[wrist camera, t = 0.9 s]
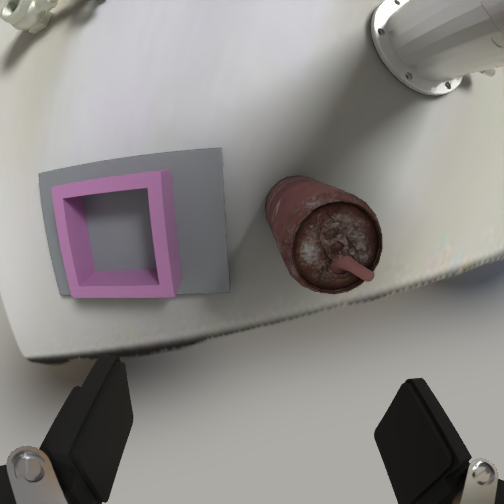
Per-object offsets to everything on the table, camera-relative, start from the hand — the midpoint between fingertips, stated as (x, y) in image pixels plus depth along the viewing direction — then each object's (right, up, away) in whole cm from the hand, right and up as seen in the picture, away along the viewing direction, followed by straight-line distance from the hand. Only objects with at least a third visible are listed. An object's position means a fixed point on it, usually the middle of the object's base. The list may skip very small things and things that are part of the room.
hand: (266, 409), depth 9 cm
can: (+4, +9, +21) cm, 23 cm away
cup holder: (-13, +8, +21) cm, 26 cm away
